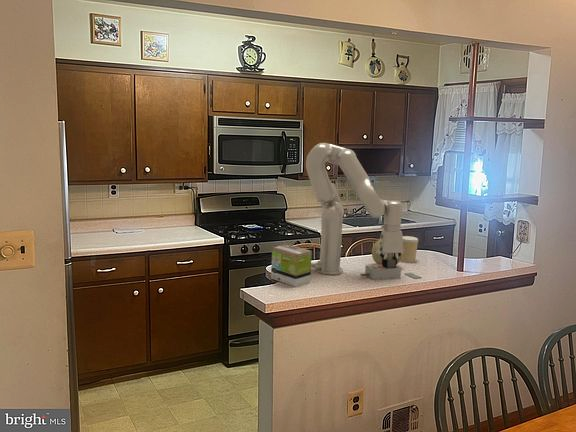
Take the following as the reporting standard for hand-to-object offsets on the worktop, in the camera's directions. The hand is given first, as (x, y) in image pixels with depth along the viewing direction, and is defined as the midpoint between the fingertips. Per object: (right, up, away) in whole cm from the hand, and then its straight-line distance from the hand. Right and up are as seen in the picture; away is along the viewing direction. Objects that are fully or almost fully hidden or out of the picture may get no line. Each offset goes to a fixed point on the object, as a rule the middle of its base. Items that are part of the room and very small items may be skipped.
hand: (389, 266), depth 248 cm
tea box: (-45, -5, -13) cm, 48 cm away
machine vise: (-5, -5, -1) cm, 7 cm away
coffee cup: (+15, 0, +30) cm, 34 cm away
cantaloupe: (+2, -2, +17) cm, 17 cm away
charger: (0, -4, +1) cm, 4 cm away
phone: (+11, -5, +3) cm, 13 cm away
